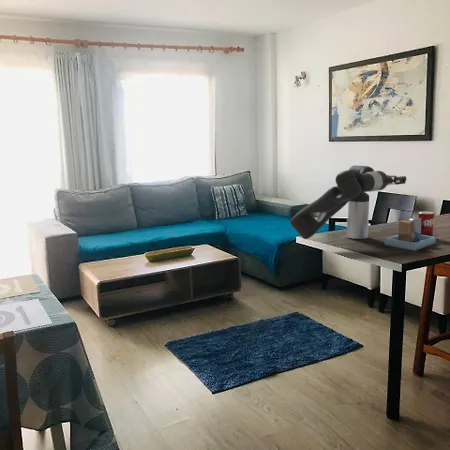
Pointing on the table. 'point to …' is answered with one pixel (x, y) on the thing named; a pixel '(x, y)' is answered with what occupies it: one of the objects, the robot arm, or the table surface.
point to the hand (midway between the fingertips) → (395, 178)
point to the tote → (414, 246)
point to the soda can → (427, 223)
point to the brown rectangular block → (406, 231)
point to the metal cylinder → (416, 229)
